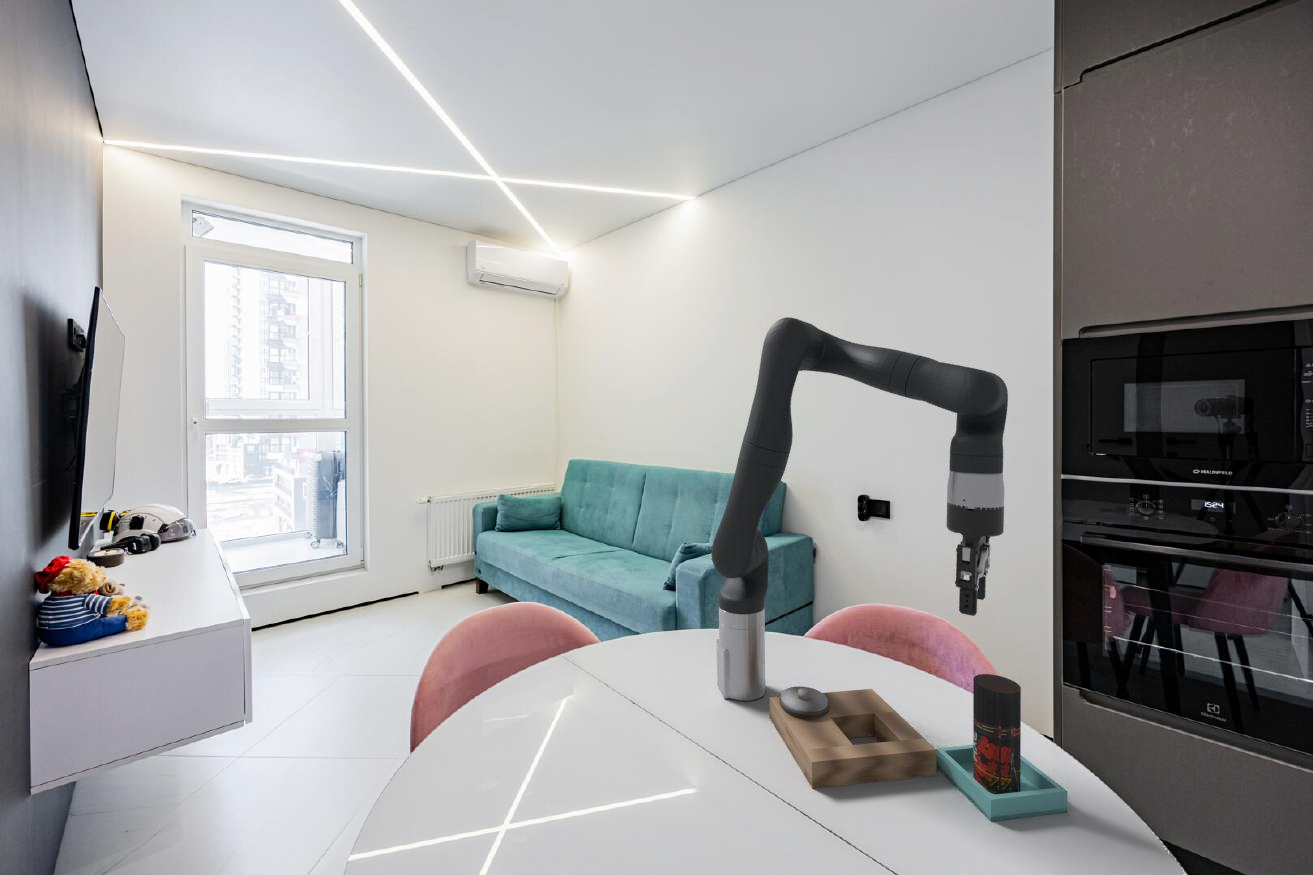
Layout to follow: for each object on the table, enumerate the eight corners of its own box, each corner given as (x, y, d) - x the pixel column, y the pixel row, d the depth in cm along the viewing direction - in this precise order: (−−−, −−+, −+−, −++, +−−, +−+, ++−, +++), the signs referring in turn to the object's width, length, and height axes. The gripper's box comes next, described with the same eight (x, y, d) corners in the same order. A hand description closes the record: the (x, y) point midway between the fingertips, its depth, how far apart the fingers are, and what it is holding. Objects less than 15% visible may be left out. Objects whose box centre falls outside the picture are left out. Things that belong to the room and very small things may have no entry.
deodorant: (964, 771, 82) (964, 674, 82) (1001, 769, 83) (1001, 673, 82) (990, 797, 76) (991, 694, 76) (1030, 795, 77) (1031, 692, 76)
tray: (990, 821, 73) (990, 799, 73) (936, 766, 84) (936, 748, 84) (1067, 812, 74) (1067, 790, 74) (1003, 759, 86) (1003, 741, 86)
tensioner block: (812, 788, 80) (811, 743, 80) (769, 717, 99) (768, 681, 99) (936, 775, 82) (936, 731, 82) (871, 708, 102) (870, 673, 101)
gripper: (955, 493, 90) (953, 589, 90) (937, 505, 79) (935, 613, 79) (1009, 498, 85) (1006, 598, 86) (997, 510, 74) (995, 626, 75)
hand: (972, 605), depth 82 cm, fingers open, 8 cm apart
